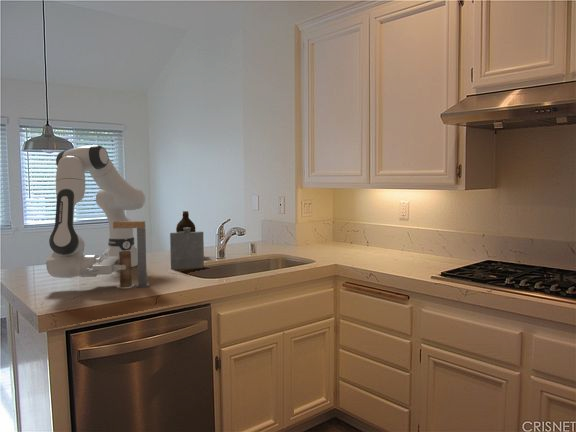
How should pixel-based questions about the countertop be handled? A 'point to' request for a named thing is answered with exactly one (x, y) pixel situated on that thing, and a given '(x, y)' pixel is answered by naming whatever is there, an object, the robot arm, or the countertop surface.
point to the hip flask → (187, 249)
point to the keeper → (140, 249)
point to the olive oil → (185, 223)
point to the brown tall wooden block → (125, 274)
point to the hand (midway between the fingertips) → (127, 264)
